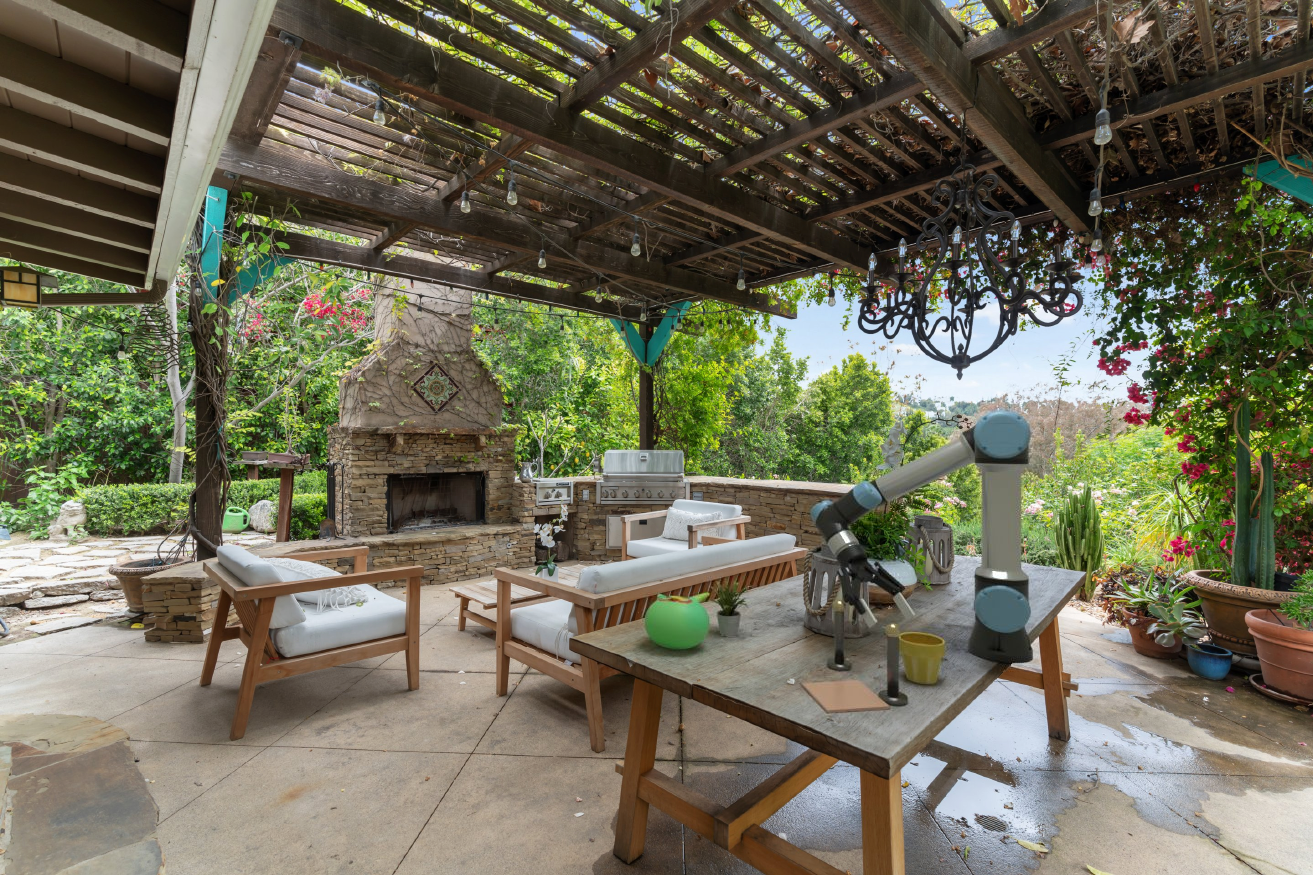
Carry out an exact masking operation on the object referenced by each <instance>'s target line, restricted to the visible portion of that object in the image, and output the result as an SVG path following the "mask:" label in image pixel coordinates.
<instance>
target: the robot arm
mask: <svg viewBox="0 0 1313 875" xmlns="http://www.w3.org/2000/svg"><path fill="white" fill-rule="evenodd" d="M1031 436H1032V432H1031V426H1030V425H1029V422H1027V420H1026V419H1025V418H1024V417H1023V416H1022V415H1020V414H1019V413H1017V412H1015V411H1014V410H1013V411H1012V410H1009V409H999V410H997V409H996V410H992V411H989V412H987V413H985V414H984V415H983V416H980V418H979V419H978V420H977V422H976V424H975V425H973V426H972V427H970V428H968V429H967V430H965V431H963V432H961V433H960V435H959V437H958V438H957V439H954V440H952V441H950V442H949V443H947V444H945V445H942V446H941V447H938V448H936V449H934V450H932V451H930V452H927V453H926V454H924V455H922V456H920V457H918V458H916V459H914V460H911V461H910V462H907V463H906V464H904V465H902V466H899V467H897V468H896V469H893V470H892V471H889V472H887V473H886V474H883V475H881V476H879V477H878V478H875V479H873V480H870V481H868V480H863V481H861V482H860V483H858V484H855V485H854V486H853V488H851V489H850V490H848V491H847V492H846V493H845V494H843V496H841V497H840V498H839V499H837V500H836V501H834V502H832V501H831V500H828V499H827V500H823V501H820V502H818V503H816V504H815V505H814V506H813V507H812V508H811V509H810V513H809V515H810V516H809V517H810V518H811V520H812V522H813V523H814V526H815V528H816V529H817V530H818V532H819V534H820V535H821V537H822V538H823V539H824V541H825V543H826V545H827V546H828V548H829V549H830V551H831V552H832V554H833V555H834V557H835V558H836V561H837V562H838V564H839V566H840V568H838V570H837V571H836V573H837V575H838V577H839V580H840V585H841V592H842V597H843V598H842V599H843V602H844V603H845V604H847V603H848V605H849V606H850V607H853V606H854V607H855V610H856V611H857V613H858V614H859V615H860V616H861V617H862V619H863V620H864V622H865V624H866V625H867V627H868V628H869V629H872V628H873V627H874V626H875V625H876V624H877V623H878V620H877V619H876V618H875V615H874V614H873V612H872V611H871V608H869V606H868V605H867V603H866V601H865V599H864V598H861V587H862V586H861V585H862V584H863V583H871V584H874V585H876V586H877V587H879V588H881V589H882V590H884V591H885V592H887V593H888V594H889V595H891V596H892V599H893V601H894V603H895V604H896V606H897V607H898V609H899V610H900V612H901V613H902V615H903V617H904V618H905V619H906V621H910V620H911V619H912V618H913V617H914V616H916V613H915V612H914V610H913V609H912V608H911V606H910V604H909V602H908V600H907V599H906V597H905V596H904V594H903V592H904V591H905V590H906V587H905V585H903V584H902V583H901V582H900V581H899V580H897V579H896V577H894V576H892V574H890V573H889V572H888V571H887V570H886V569H885V568H884V567H883V566H882V564H880V562H879V561H875V562H874V563H870V562H869V561H868V555H867V553H866V552H865V549H863V547H862V545H861V544H860V543H859V540H858V539H857V538H856V536H855V534H854V533H853V532H852V530H851V528H850V526H851V525H853V524H854V523H855V522H857V521H858V520H859V519H861V518H862V517H864V516H865V515H866V514H868V513H869V512H872V511H873V510H875V509H877V508H879V507H881V506H883V505H885V504H887V503H889V502H892V501H894V500H896V499H898V498H900V497H903V496H905V495H907V494H909V493H911V492H914V491H915V490H917V489H920V488H921V487H923V486H927V485H929V484H930V483H932V482H935V481H937V480H939V479H941V478H943V477H945V476H948V475H950V474H952V473H954V472H956V471H958V470H960V469H963V468H965V467H967V466H969V465H972V464H974V465H975V466H976V467H977V468H978V469H980V471H981V565H979V566H977V567H976V568H975V570H974V574H973V579H974V600H973V610H974V624H973V627H972V629H971V632H970V635H969V638H968V640H967V649H968V652H970V653H971V654H973V655H975V656H977V657H980V658H982V659H986V660H989V661H993V662H998V663H1008V664H1026V663H1027V664H1028V663H1030V662H1032V661H1033V659H1034V650H1033V647H1032V645H1031V642H1030V641H1031V640H1030V639H1029V636H1028V633H1027V629H1026V625H1027V623H1028V622H1029V620H1030V618H1031V614H1032V613H1031V612H1032V611H1031V610H1032V609H1031V605H1030V603H1029V602H1030V601H1029V598H1030V595H1029V593H1030V592H1029V589H1030V588H1029V586H1030V585H1029V582H1030V581H1029V575H1028V574H1027V573H1026V572H1024V570H1023V569H1022V472H1023V471H1024V470H1025V469H1026V468H1027V467H1028V466H1029V465H1030V464H1029V463H1030V461H1029V460H1030V457H1029V455H1030V452H1029V451H1030V447H1029V445H1030V440H1031V438H1032V437H1031ZM850 578H851V579H850Z"/></svg>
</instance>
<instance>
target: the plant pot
mask: <svg viewBox="0 0 1313 875" xmlns="http://www.w3.org/2000/svg"><path fill="white" fill-rule="evenodd" d="M899 653H900V654H901V658H902V663H903V667H904V671H905V672H904V673H905V675H906V679H908V680H909V681H911V682H913V683H916V684H919V685H920V684H921V685H933V684H936V683H937V681H938V676H939V672H940V667H941V663H942V659H943V658H945V656H946V641H945V640H944V639H943V638H942V637H939V636H937V635H934V634H931V633H927V632H918V631H917V632H915V631H908V632H907V631H905V632H901V633H900V636H899Z"/></svg>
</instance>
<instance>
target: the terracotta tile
mask: <svg viewBox="0 0 1313 875" xmlns="http://www.w3.org/2000/svg"><path fill="white" fill-rule="evenodd" d="M801 687H802V688H803V690H805V691H806V692H807V693H808V694H809V696H810V697H811V698H812V699H813V700H814V701H815V702H816V703H817V704H818V705H819V706H820V707H821V708H822V710H824V711H825V712H826V713H827V714H835V712H838V713H848V712H847V711H854V712H866V711H881V710H883V711H884V710H891V705H888V704H887V703H885V702H884V701H883V700H882V699H881V698H879V697H878V695H877V694H876V693H875V692H873V691H872V690H871V689H870V688H869V687H868V686H866V685H865V684H863V682H861V681H860V680H858V679H855V680H854V679H853V680H835V681H821V682H820V681H817V682H804V683H803V682H802V683H801Z"/></svg>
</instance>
